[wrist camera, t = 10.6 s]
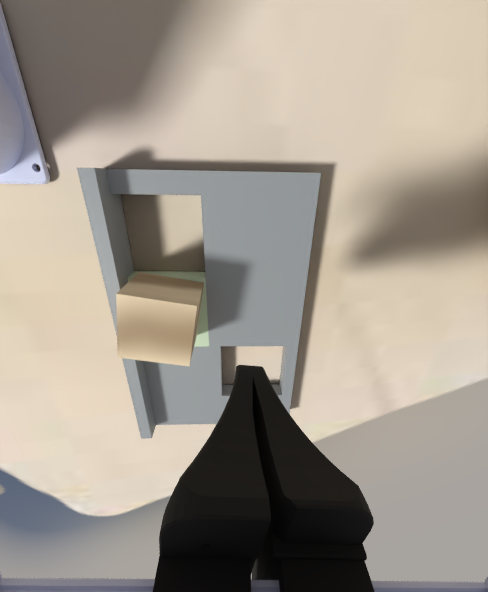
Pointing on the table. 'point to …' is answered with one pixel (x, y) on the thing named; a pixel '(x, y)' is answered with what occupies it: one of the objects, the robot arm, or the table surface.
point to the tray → (214, 277)
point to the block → (158, 318)
